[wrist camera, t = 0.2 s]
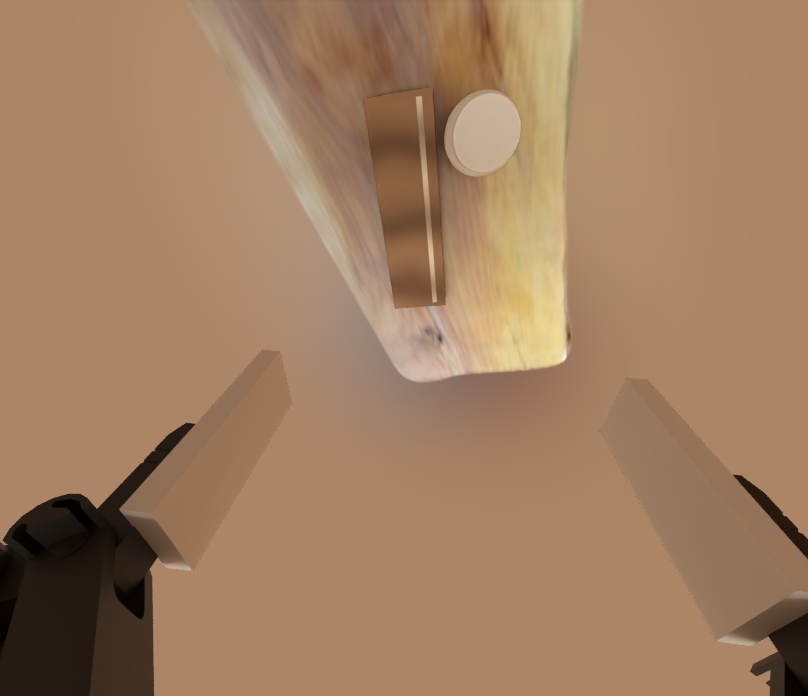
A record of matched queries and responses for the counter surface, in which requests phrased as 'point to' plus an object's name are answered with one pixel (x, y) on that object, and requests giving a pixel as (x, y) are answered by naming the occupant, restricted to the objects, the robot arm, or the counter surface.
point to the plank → (408, 193)
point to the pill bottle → (482, 133)
